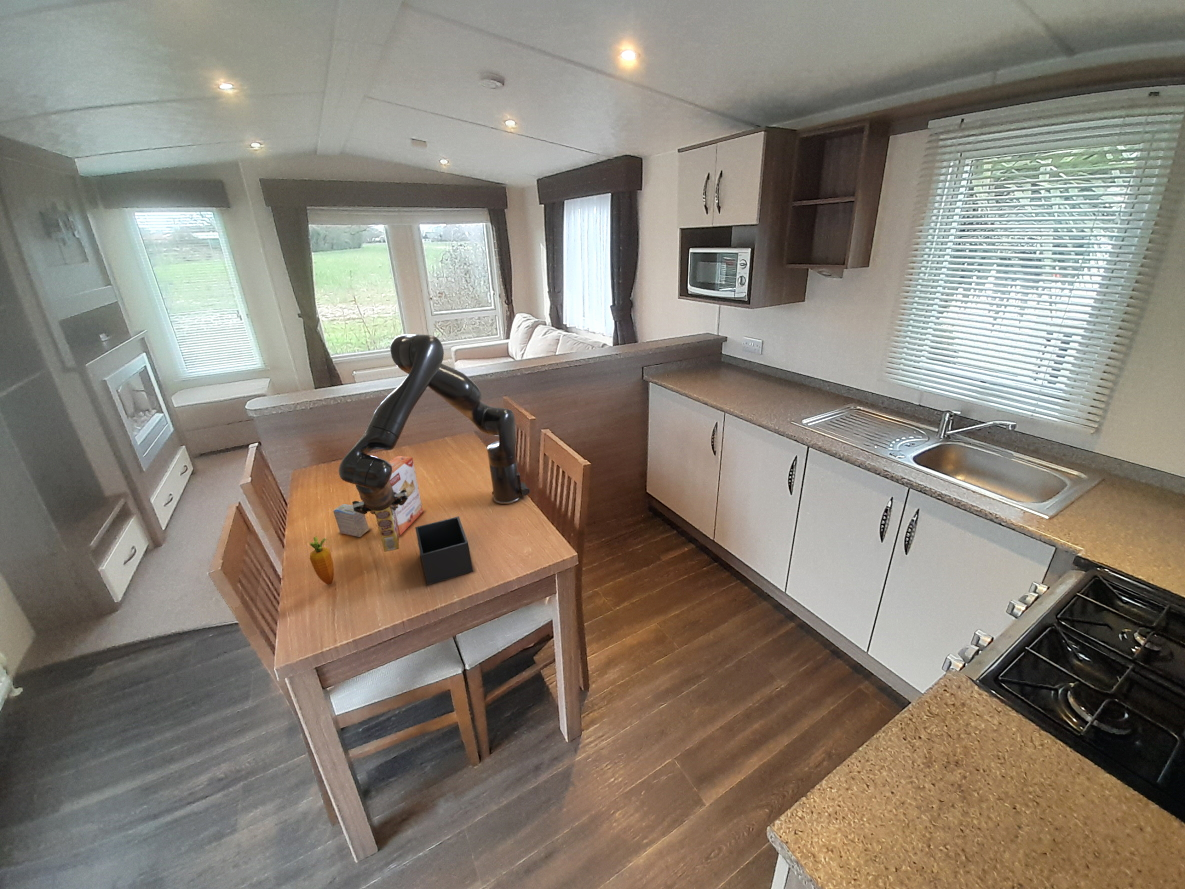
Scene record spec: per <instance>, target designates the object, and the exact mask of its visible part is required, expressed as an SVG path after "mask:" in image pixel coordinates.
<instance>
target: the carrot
mask: <svg viewBox="0 0 1185 889" xmlns="http://www.w3.org/2000/svg"><path fill="white" fill-rule="evenodd" d="M326 540H327V538H322V540H321V541H320V543H319V540H318V537H317V536H313V541H314V542H313V541H311V542H310V543H309V545H310V547H312V548H313V550H312V551H311V552H310V553H309V561H310V563H311V566H312V568H313V570H314V572H315V573H316V576H318V578H319V579H320V580H321V581H322V582H323V583H324V584H326V585H328V586H331V585H332V584H333V582H334V578H335V567H334V560H333V556H332V553H331V550H330V548H329V547H324V546H323V544H324V542H325V541H326Z"/></svg>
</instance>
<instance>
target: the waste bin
mask: <svg viewBox="0 0 1185 889" xmlns="http://www.w3.org/2000/svg"><path fill="white" fill-rule="evenodd" d="M414 528H415V529H414V530H415V533H416V539H417V543H418V549H419V554H420V559H421V563H422V564H421V565H422V568H423V573H424V576H425V582H426V585H427V586H429V585H432V584H436V583H440V582H443V581H446V580H450V579H453V578H455V577H456V578H457V577H460V576H463V575H466V574H470V573H473V572H474V568H473V562H472V556H471V551H470V546H469V541H468V538H467V536H466V533H465V530H464V526H463V524H462V522H461V519H460V516H459V515H458V516H455V517H450V518H447V519H443V520H439V521H435V522H430V523H427V524H423V525H418V526H415V527H414Z"/></svg>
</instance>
